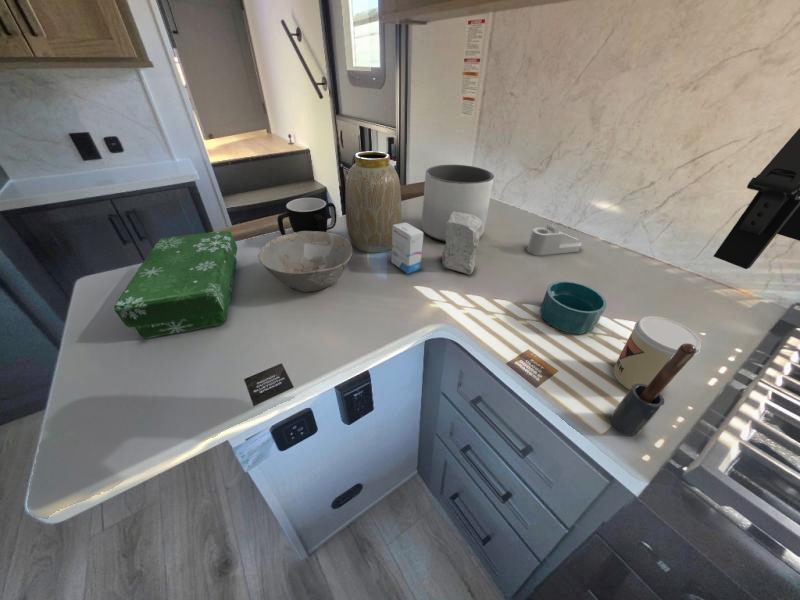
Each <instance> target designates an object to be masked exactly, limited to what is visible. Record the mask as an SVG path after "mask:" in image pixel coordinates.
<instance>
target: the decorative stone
mask: <svg viewBox="0 0 800 600" xmlns="http://www.w3.org/2000/svg"><path fill="white" fill-rule="evenodd" d="M482 226H483V223H482V222H481V219H480V218H477V217H476V216H475V215H471V214H466V213H460V212H454V211H453V212H452V214H451V215H450V218H449V220H448V221H447V223H446V237H447V238H446V240H445V241H446V242H445V245H444V247H443V251H442V256H441V260H442V265H443V267H444V269H449V270H453V271H456V272H459V273H462V274H466V275H469V276H470V275H472V273H473V272H474V270H475V266H476V251H477V249H478V246H479V241H480V239H481V237H480V234H481V230H482Z"/></svg>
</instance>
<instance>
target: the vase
mask: <svg viewBox="0 0 800 600" xmlns="http://www.w3.org/2000/svg"><path fill="white" fill-rule="evenodd" d="M390 159H391V156H390V154H389V153H387V152H382V151H361V152H357V153H355V155H354V163H353V165H352V166H351V167H350V168H349V170H348V173H347V175H346V179H345V188H344V189H345V191H344V193H345V194H344V201H345V202H344V203H345V204H344V205H345V209H344V210H345V221H346V223H345V224H346V230H347V235H348V238H349V240H350V241H351V244H352V245H353V246H354V247H355V248H356V249H357V250H359V251H362V252H365V253H373V254H375V253H383V252H386V251H389V250H392V228H393V225H395V224H400V223H402V191H401V183H400V177H399V174H398V172H397V170H396V169H395V167H394V166H393V165H392V164H391V163H390Z"/></svg>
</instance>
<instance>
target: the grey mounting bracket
mask: <svg viewBox="0 0 800 600" xmlns="http://www.w3.org/2000/svg"><path fill="white" fill-rule="evenodd" d="M581 247H582V242H581V240H580V239H578V238H576V237H575V236H571V235H569V234H567V233H565V232H562V231H561V229H560V228H558V227H556V226H555V225H554V224H553V223H550V224H546V226H541V227H534V228H533V229H532V231H531V235H530V238H529V242H528V245H527V248H526V251H527V252H528V253H529V254H531V255H535V256H549V255H558V254H569V253H579V251H580V250H581Z"/></svg>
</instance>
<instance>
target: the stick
mask: <svg viewBox="0 0 800 600" xmlns="http://www.w3.org/2000/svg"><path fill="white" fill-rule="evenodd" d="M695 353H696V347H695V346H694V345H692V344H689V343H685V344H682V345H681V346H680V347H679V348H678V349H677V351H676V352H675V353H674V354H673V356H672V357H671V358H670V359H669V360H668V362H667V363H666V364H665V365H664V366H663V368H662V369H661V370H660V371H659V373H658V374H657V375H656V376H655V377H654V379H653V380H652V381H651V382H650V383H649V385H648V386H647V387H646V388H645V390H644V391H643V392H642V393H641V394H640V396H639V397H640V398H641V399H643V400H644V401H646V402H648V403H651V402H652V401H653V400H654V399H655V398H656V397H657V396H658V395H659V393H660V394H661V393H662V392H663V390H664V389H665V388H666V387H667V386H668V385H669V384H670V383H671V382H672V380H673V379H674V378H675V377H676V376H677V375H678V373H680V371H681V370H683V368H685V366H686V365H687V364H688V363H689V362H690V361H691V360H692V359H693V358H694V357H693V355H694V354H695ZM692 357H693V358H692ZM691 358H692V359H691ZM690 359H691V360H690ZM689 360H690V361H689ZM688 361H689V362H688ZM687 362H688V363H687ZM686 363H687V364H686ZM685 364H686V365H685ZM684 365H685V366H684Z"/></svg>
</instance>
